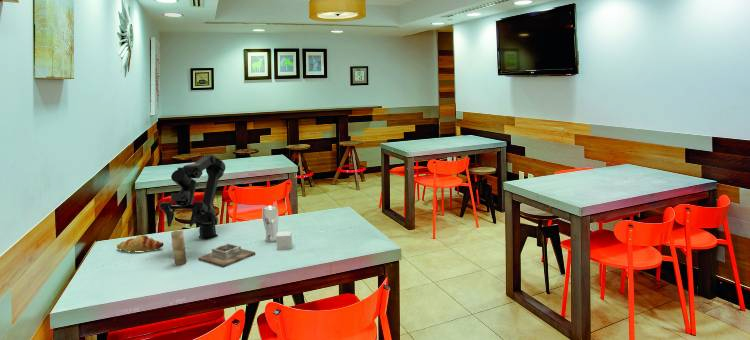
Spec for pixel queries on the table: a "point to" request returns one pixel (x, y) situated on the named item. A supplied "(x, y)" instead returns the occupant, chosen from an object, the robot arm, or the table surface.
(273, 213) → the beer glass
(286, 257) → the table surface
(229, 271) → the table surface
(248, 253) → the cup bracket
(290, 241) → the light grey cube
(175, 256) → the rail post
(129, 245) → the croissant
